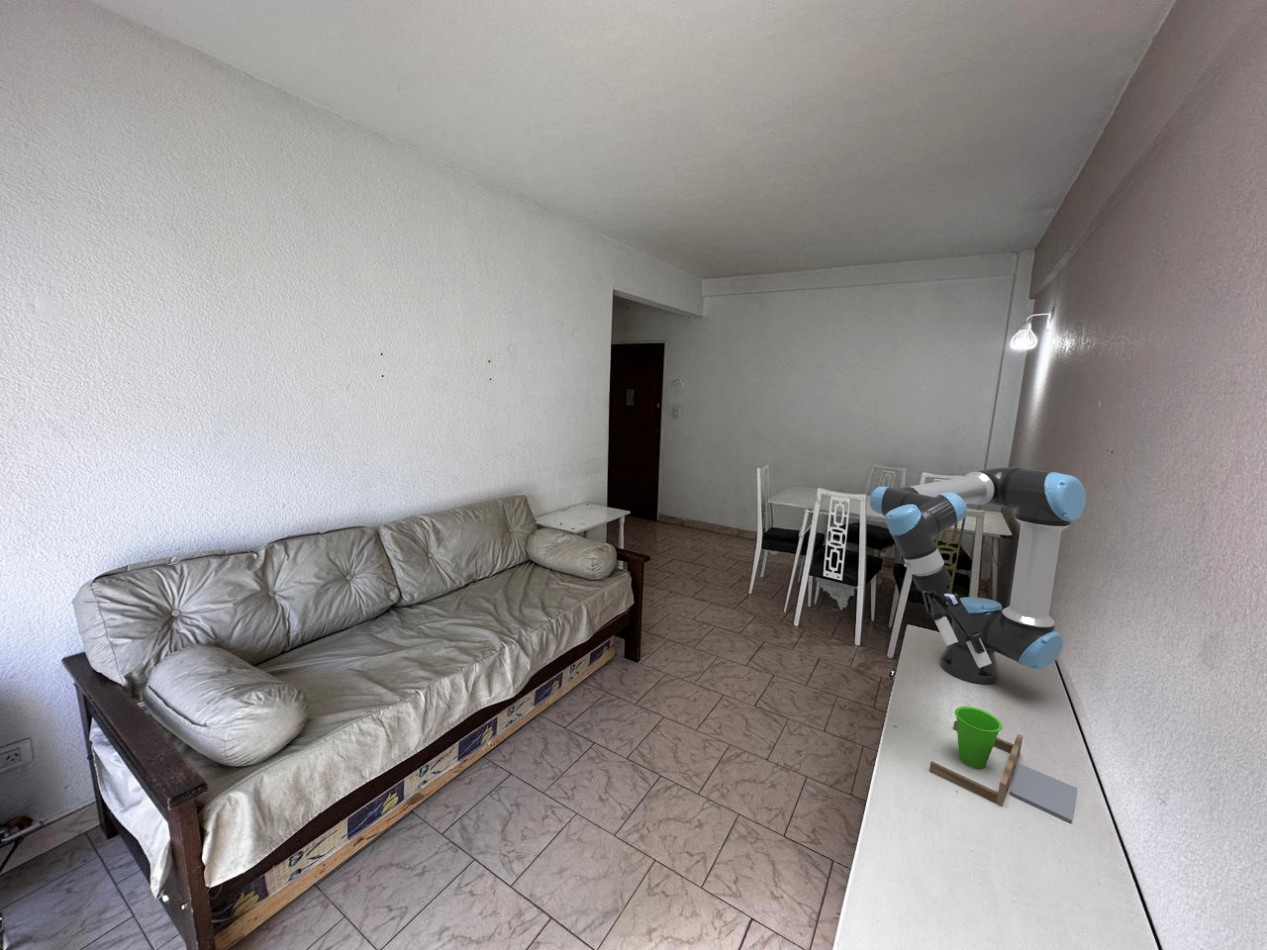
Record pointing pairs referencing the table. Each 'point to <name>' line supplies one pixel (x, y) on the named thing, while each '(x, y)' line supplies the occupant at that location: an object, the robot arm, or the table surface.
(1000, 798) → the stall
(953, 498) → the robot arm
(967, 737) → the cup
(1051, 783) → the mat
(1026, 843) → the table surface
